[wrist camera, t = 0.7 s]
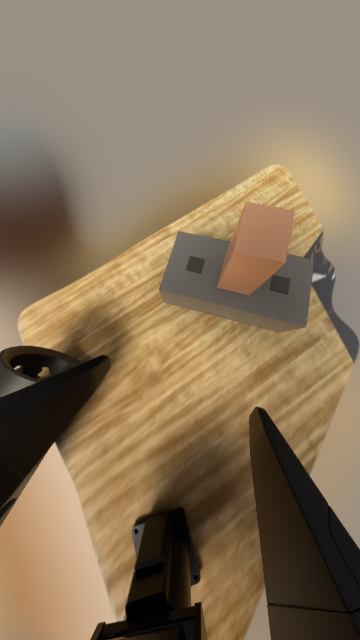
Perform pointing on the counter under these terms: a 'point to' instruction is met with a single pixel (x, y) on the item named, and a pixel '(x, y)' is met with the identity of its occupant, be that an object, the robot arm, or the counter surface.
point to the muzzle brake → (7, 380)
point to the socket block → (255, 309)
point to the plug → (256, 248)
